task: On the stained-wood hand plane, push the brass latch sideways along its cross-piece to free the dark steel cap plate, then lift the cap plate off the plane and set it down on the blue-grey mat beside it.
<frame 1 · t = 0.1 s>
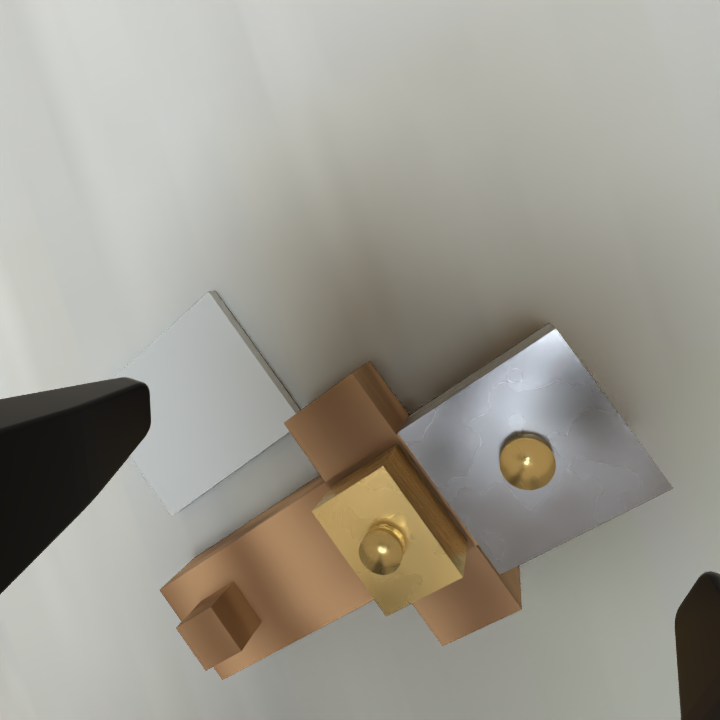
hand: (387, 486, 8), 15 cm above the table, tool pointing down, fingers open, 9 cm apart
plane body: (378, 503, 25), on the table
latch: (389, 532, 20), point 5 cm above the table, slide at 0.0 cm
cap plate: (523, 438, 19), point 3 cm above the table, touching plane body
mat: (195, 407, 27), on the table
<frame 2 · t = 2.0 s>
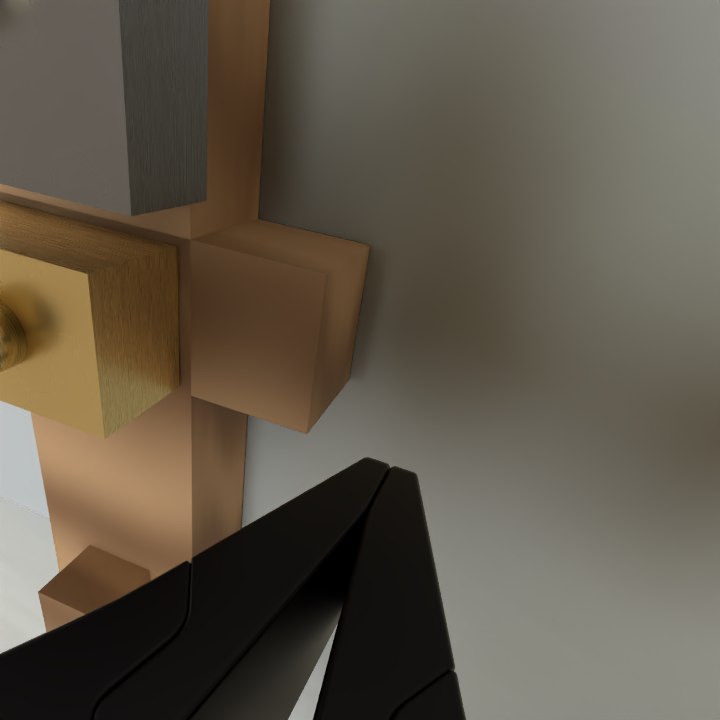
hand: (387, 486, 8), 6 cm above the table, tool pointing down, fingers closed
plane body: (172, 327, 16), on the table
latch: (32, 316, 11), point 5 cm above the table, slide at 0.0 cm
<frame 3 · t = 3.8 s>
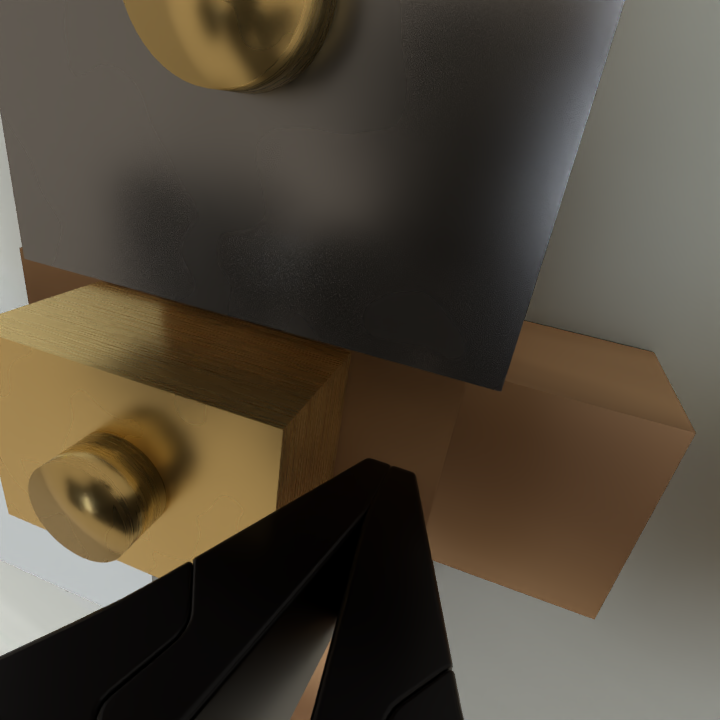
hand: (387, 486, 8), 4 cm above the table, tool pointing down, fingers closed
plane body: (337, 430, 13), on the table
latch: (158, 448, 8), point 5 cm above the table, slide at 1.6 cm, touching gripper
cap plate: (333, 27, 6), point 3 cm above the table, touching plane body
mat: (63, 479, 17), on the table
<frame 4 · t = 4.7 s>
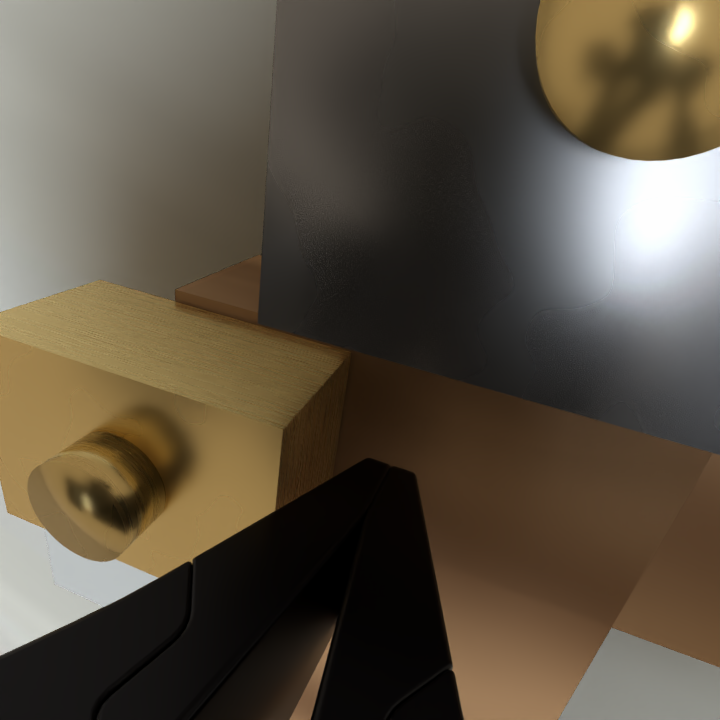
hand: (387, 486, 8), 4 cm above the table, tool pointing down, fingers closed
plane body: (473, 474, 12), on the table
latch: (158, 447, 8), point 5 cm above the table, slide at 5.1 cm, touching gripper
cap plate: (622, 64, 6), point 3 cm above the table, touching plane body
mat: (147, 512, 16), on the table
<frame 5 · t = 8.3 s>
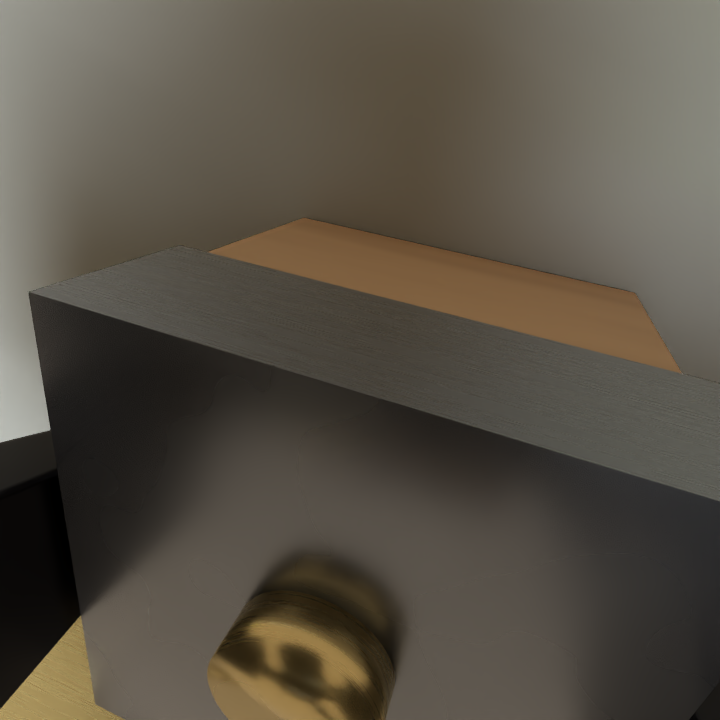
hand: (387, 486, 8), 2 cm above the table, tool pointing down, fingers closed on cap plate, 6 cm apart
plane body: (357, 667, 14), on the table
cap plate: (373, 517, 7), point 3 cm above the table, touching gripper, plane body
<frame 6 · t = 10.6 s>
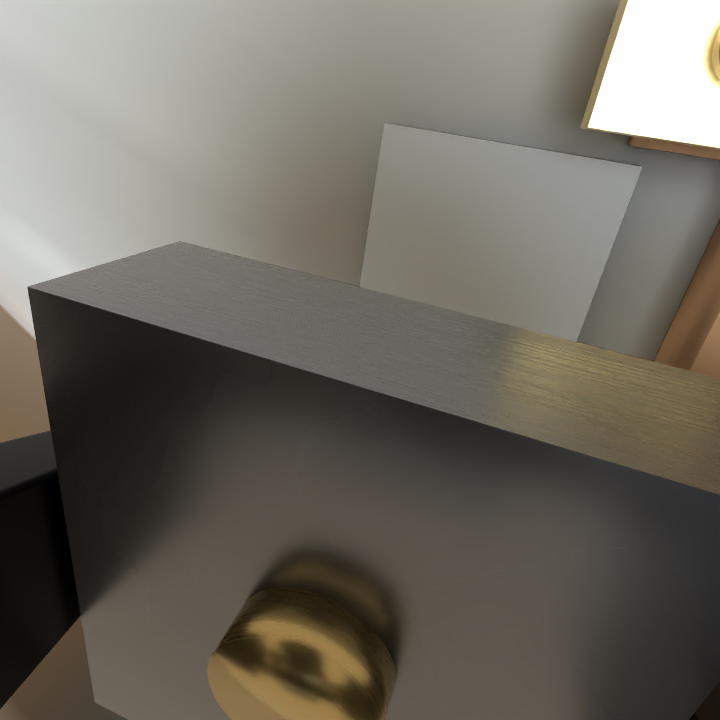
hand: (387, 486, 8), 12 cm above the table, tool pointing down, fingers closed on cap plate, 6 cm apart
cap plate: (373, 515, 7), point 13 cm above the table, touching gripper
mat: (469, 290, 18), on the table
when the fingers open (1 cm above the table, at t = 13.1 s): cap plate drops 1 cm, resting on mat.
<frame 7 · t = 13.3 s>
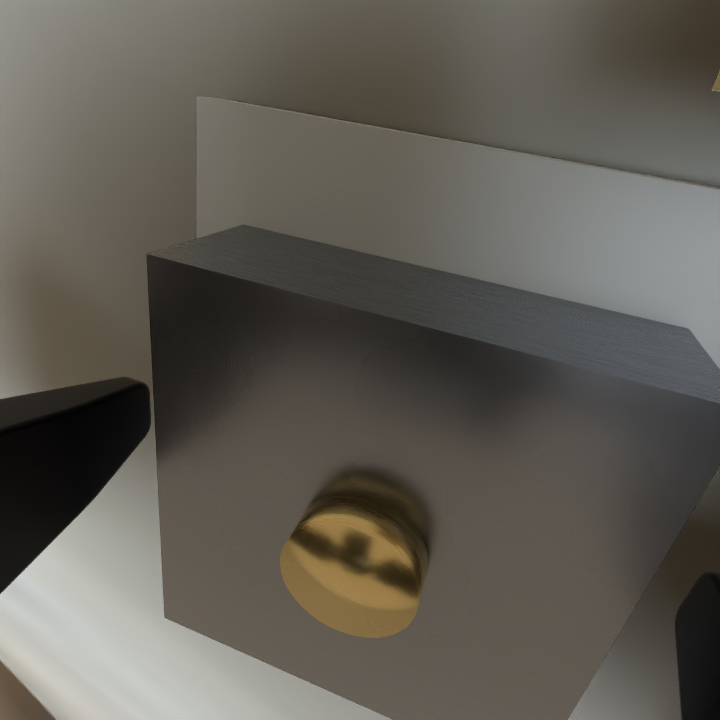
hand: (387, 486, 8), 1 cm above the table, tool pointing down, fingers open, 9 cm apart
cap plate: (401, 456, 9), point 1 cm above the table, touching mat
mat: (406, 438, 9), on the table
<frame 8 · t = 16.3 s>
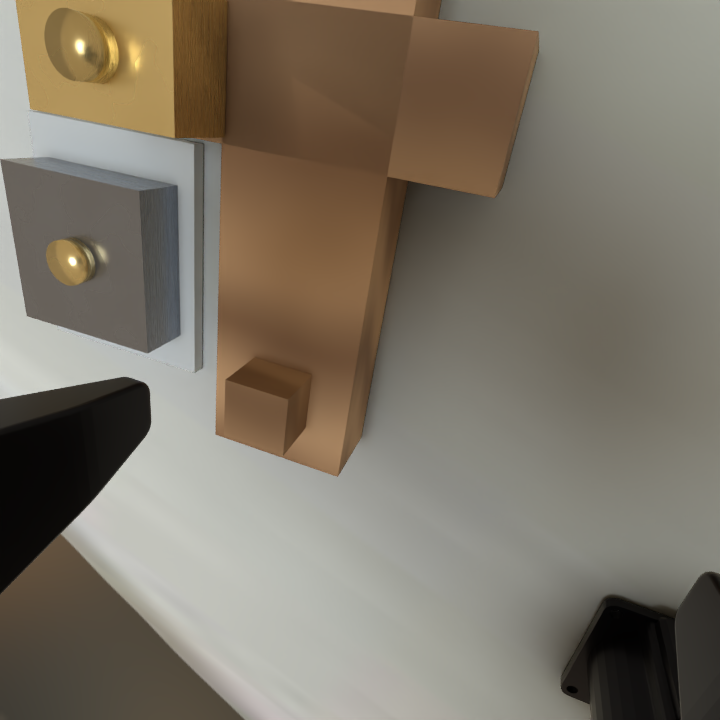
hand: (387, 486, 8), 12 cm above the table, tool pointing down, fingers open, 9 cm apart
plane body: (335, 155, 18), on the table
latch: (117, 54, 14), point 5 cm above the table, slide at 5.2 cm
cap plate: (117, 249, 22), point 1 cm above the table, touching mat
mat: (125, 247, 23), on the table
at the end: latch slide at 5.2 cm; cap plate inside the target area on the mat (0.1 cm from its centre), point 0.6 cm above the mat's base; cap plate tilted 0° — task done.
